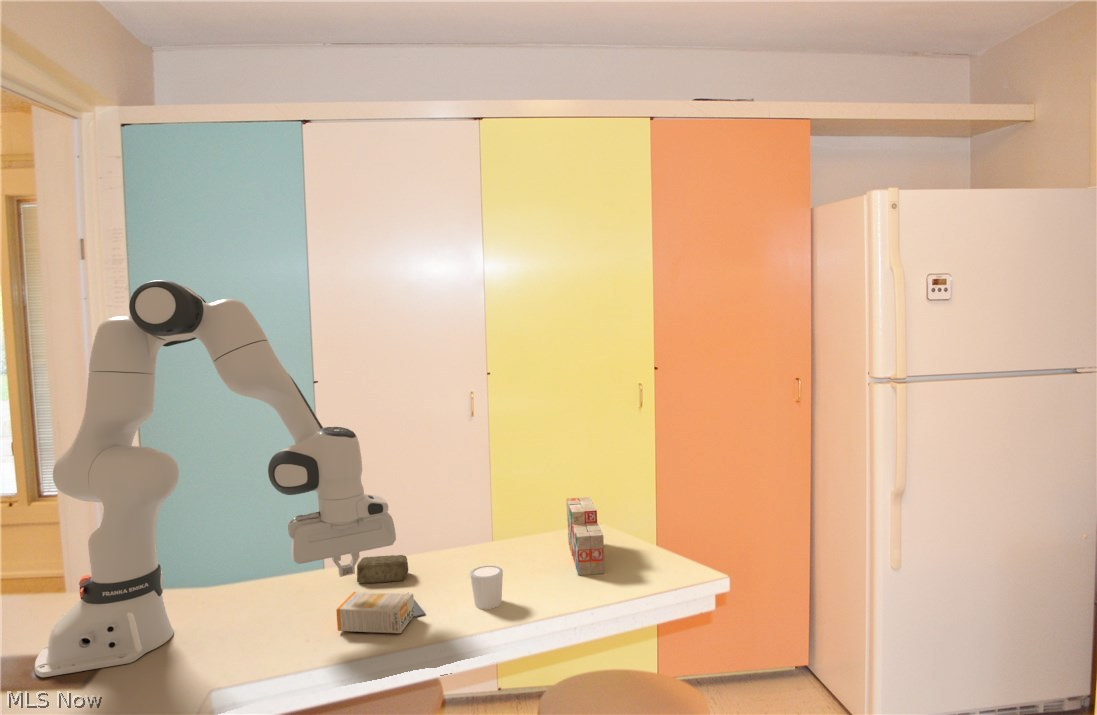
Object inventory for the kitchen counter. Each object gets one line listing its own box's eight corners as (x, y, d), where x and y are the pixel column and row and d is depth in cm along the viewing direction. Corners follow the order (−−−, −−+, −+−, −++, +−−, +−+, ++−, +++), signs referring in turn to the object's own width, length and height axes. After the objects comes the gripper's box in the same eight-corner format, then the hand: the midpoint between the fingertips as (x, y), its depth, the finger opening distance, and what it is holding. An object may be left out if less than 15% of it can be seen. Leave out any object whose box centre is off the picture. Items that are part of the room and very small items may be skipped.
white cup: (467, 601, 149) (465, 569, 148) (496, 593, 152) (495, 562, 151) (479, 613, 143) (477, 580, 142) (509, 605, 146) (508, 573, 145)
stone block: (406, 582, 161) (404, 561, 160) (355, 586, 160) (353, 565, 160) (409, 572, 166) (408, 552, 166) (360, 576, 166) (359, 555, 165)
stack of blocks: (605, 574, 160) (603, 522, 159) (577, 576, 160) (575, 523, 159) (591, 542, 181) (590, 495, 180) (567, 543, 181) (566, 497, 180)
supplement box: (337, 632, 136) (400, 635, 134) (335, 608, 136) (398, 610, 134) (355, 613, 145) (415, 615, 142) (354, 590, 144) (414, 592, 142)
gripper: (289, 521, 132) (295, 592, 134) (395, 502, 142) (400, 568, 143) (285, 513, 138) (290, 580, 139) (387, 495, 147) (392, 559, 149)
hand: (346, 574), depth 141 cm, fingers closed
